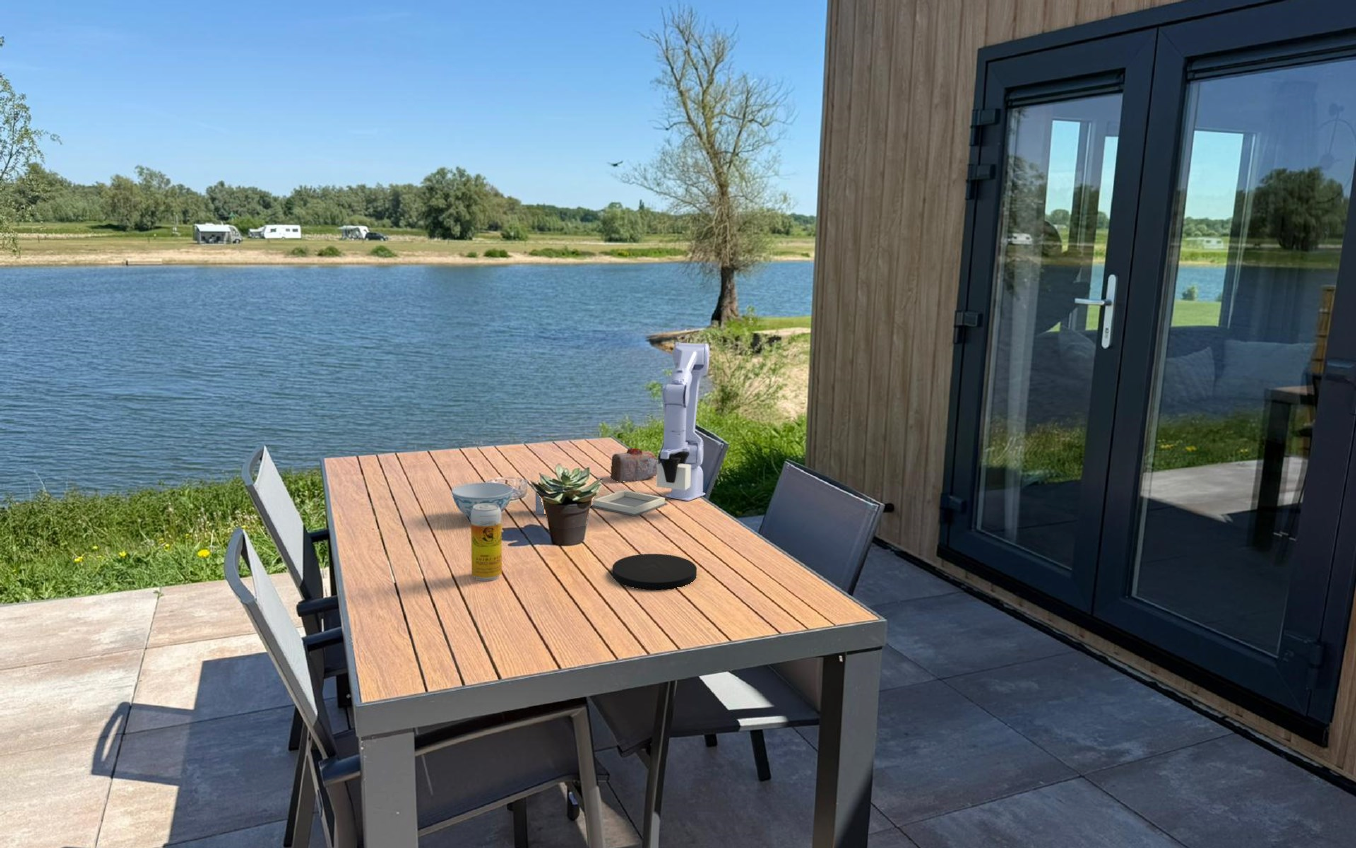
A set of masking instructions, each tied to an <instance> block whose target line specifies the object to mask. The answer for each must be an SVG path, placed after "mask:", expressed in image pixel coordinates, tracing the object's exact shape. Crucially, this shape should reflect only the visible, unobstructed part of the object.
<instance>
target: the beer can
mask: <svg viewBox="0 0 1356 848" xmlns="http://www.w3.org/2000/svg"><path fill="white" fill-rule="evenodd" d="M470 540H471V541H470V542H471V543H470V544H471V545H470V546H471V551H470V552H471V559H470V560H471V575H472V576H473V578H474V579H475V580H477V581H485V582H487V581H488V582H489V580H490V581H495V580H497V579H498V578H499V577H500V575H501V574H502V571H503V570H502V568H503V565H502V564H503V561H502V559H503V558H502V557H503V555H502V551H503V549H502V542H503V541H502V512H501V510H500V508H499V505H497V504H493V503H481V504H477V505H474V506H473V509H472V511H471V521H470Z"/></svg>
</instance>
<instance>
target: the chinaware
mask: <svg viewBox="0 0 1356 848" xmlns="http://www.w3.org/2000/svg"><path fill="white" fill-rule="evenodd" d="M513 491H514V489H513V487H512V486H510V485H508V484H504V483H498V482H472V483H465V484H461V485H457V486H455V487H454V488H452V489H451V495H452V498H453V501H454V503H455V505H456V508H457V509H459V511H460V512H461V513H462V514H464V515H465V516H466V517H468V518H469V519H468V520H469V522H471V511H472V509H473V506H474V505H477V504H481V503H493V504H497V505H499V508H500V510H501V513H502V512H503V511H505V509H506V508H507V507H508V505H509V504H510V501H511V500H512V499H511V498H512V495H513Z"/></svg>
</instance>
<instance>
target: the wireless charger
mask: <svg viewBox="0 0 1356 848" xmlns="http://www.w3.org/2000/svg"><path fill="white" fill-rule="evenodd" d="M697 569H698V568H697V566H696V564H695V563H694V562H692V561H691V560H689V559H687V558H685V557H682V556H681V557H680V556H678V555H672V554H666V553H665V554H663V553H641V554H635V555H634V554H633V555H629V556H625V557H623V558H621V559H618V560H617V561H615V562H614V563H613V565H612V569H611V570H612V574H611V575H612V579H613V580H614V579H615V580H616V581H615V580H614V581H615V582H617V583H618V582H619V584H620V583H621V584H620V585H623V586H625V585H626V586H625V587H627V588H631V587H634V588H633V589H636V588H638V590H643V589H644V590H645V591H669V590H668V589H670V590H675V589H674V588H676V589H678V588H677V587H681V588H683V586H684V587H686V586H685V585H687V586H688V584H689V585H691V584H692V583H691V582H693V581H694V580H695V579H696V580H697V577H696V576H698V575H697V574H698V573H697V572H698V571H697ZM696 580H695V581H696ZM695 581H694V582H695ZM694 582H693V583H694ZM690 583H691V584H690ZM644 590H643V591H644Z"/></svg>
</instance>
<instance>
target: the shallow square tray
mask: <svg viewBox="0 0 1356 848" xmlns="http://www.w3.org/2000/svg"><path fill="white" fill-rule="evenodd" d="M593 500H594V501H593ZM593 500H592V504H591V505H592V507H591V508H593V509H598V508H599V509H600V510H604V511H608V510H609V512H613V513H617V514H622V515H627V516H631V517H637V516H640V515H643V514H645V513H648V512H651V511H654V510H656V508H657V509H659V508H661V507H665V506H667V505H668V502H666V497H662V496H658V495H653V494H652V495H651V494H647V493H643V492H638V491H637V492H636V491H633V490H627V489H623V490H620V491H616V492H613V493H610V494H607V495H604V496H601V497H597V498H595V499H593ZM664 505H665V506H664Z"/></svg>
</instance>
